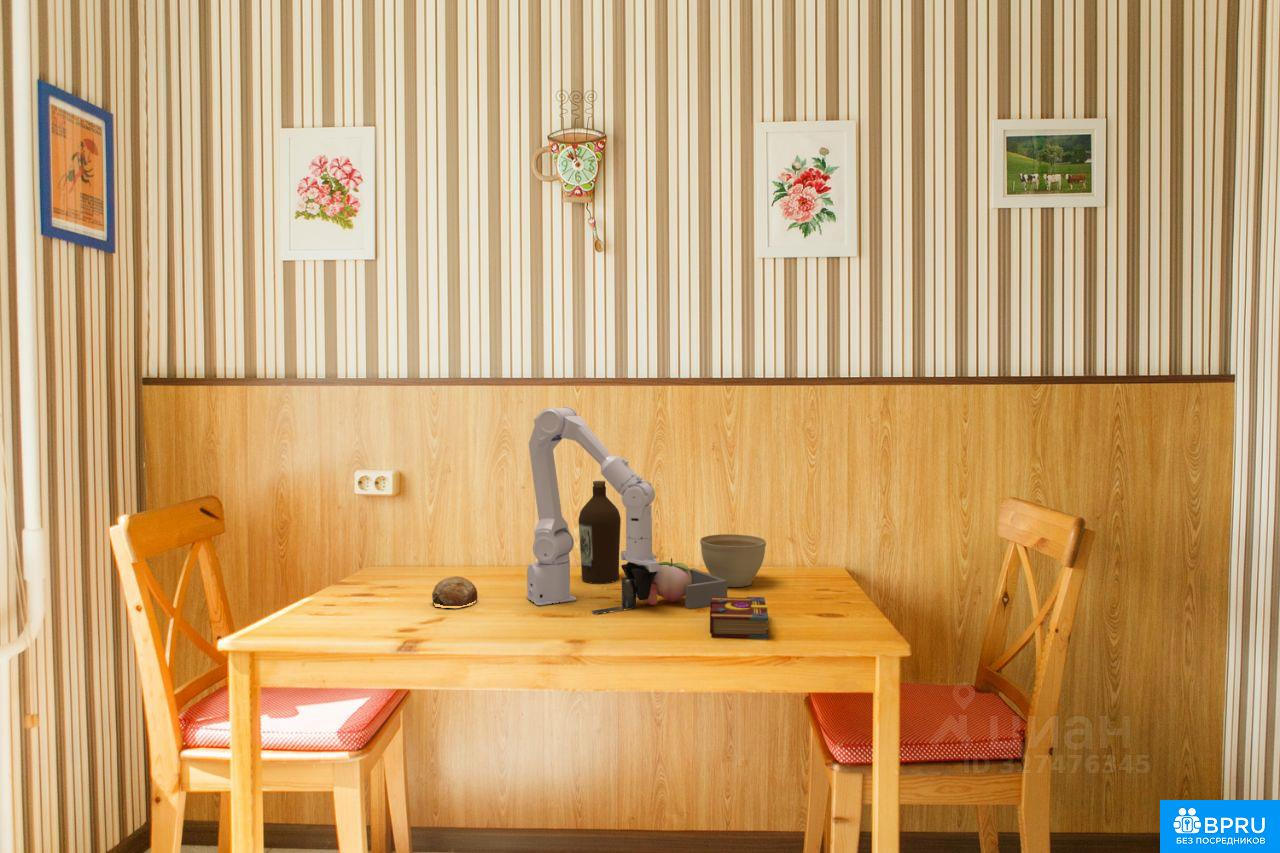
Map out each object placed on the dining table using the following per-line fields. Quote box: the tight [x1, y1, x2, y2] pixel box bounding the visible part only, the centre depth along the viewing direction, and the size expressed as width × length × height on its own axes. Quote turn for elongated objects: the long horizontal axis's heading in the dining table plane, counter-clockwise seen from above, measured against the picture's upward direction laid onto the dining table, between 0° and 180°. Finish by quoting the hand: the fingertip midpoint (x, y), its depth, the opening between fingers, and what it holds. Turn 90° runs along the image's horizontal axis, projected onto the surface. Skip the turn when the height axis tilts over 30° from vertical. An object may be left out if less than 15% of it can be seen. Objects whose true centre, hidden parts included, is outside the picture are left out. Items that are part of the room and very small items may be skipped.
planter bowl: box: [699, 533, 767, 588], centre depth 192 cm, size 16×16×11 cm
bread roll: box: [431, 575, 478, 606], centre depth 176 cm, size 10×10×8 cm
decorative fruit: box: [653, 558, 692, 603], centre depth 175 cm, size 9×8×10 cm
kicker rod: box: [621, 576, 658, 609], centre depth 171 cm, size 8×4×6 cm, turn 118°
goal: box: [657, 567, 728, 610], centre depth 178 cm, size 10×14×5 cm
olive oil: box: [578, 480, 622, 584], centre depth 196 cm, size 11×11×25 cm
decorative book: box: [709, 596, 770, 640], centre depth 157 cm, size 11×16×5 cm
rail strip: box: [591, 605, 632, 615], centre depth 169 cm, size 9×2×1 cm, turn 118°
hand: (639, 597), depth 172 cm, fingers closed on kicker rod, 3 cm apart
